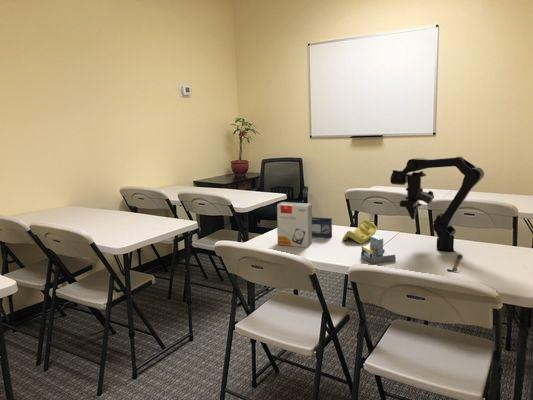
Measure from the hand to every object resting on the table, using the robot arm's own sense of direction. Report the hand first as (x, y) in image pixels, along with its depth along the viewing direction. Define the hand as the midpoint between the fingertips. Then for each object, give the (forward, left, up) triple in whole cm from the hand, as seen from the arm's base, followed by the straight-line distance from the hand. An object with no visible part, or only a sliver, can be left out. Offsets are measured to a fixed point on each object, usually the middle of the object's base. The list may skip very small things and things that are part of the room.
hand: (412, 219), depth 190 cm
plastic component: (+24, -4, -12) cm, 27 cm away
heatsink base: (+12, +27, -12) cm, 32 cm away
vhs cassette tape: (+48, -1, -12) cm, 49 cm away
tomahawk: (-19, +23, -13) cm, 33 cm away
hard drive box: (+53, +15, -12) cm, 56 cm away
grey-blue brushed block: (+14, +28, -10) cm, 33 cm away
